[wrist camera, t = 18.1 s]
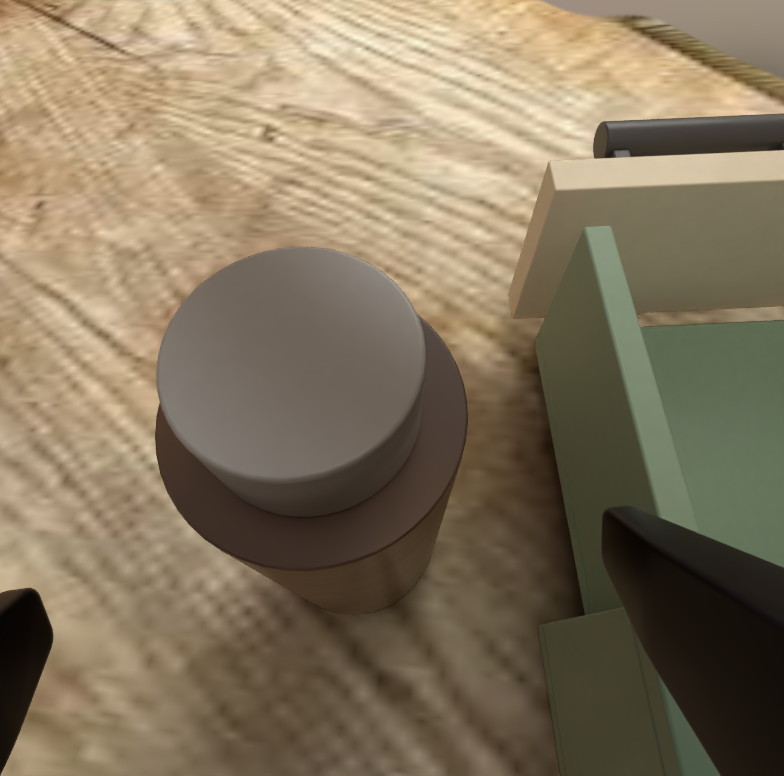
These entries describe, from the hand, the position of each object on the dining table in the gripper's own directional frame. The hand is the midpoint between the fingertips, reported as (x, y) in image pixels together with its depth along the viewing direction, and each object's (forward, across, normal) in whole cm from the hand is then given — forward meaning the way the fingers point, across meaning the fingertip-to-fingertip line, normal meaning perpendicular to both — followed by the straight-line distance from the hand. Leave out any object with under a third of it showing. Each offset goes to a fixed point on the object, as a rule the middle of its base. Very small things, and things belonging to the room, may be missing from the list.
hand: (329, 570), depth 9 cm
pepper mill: (+9, 0, +5) cm, 10 cm away
